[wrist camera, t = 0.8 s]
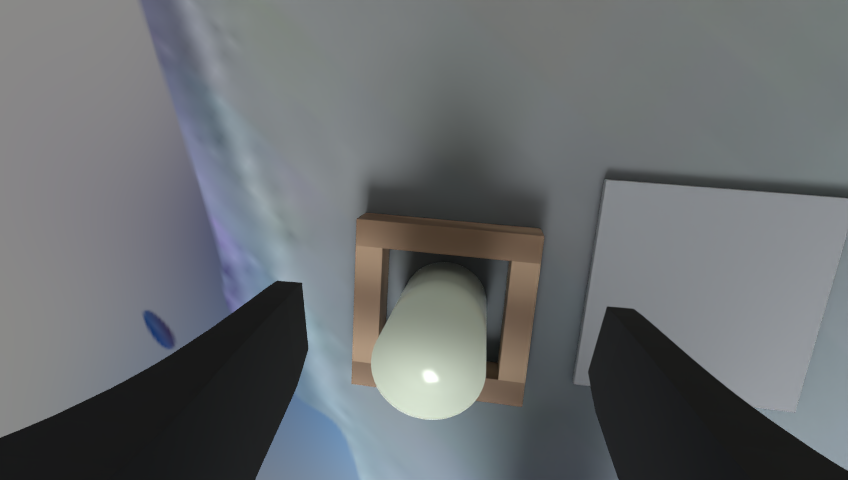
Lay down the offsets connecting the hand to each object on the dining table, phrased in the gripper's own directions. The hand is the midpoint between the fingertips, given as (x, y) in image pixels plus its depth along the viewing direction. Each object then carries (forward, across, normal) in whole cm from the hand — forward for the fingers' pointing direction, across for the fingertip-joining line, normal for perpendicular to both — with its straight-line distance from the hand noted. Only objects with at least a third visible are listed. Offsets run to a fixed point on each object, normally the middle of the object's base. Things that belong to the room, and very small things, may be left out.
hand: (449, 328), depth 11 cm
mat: (+13, -14, +7) cm, 20 cm away
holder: (+14, 0, +9) cm, 17 cm away
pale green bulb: (+14, 0, +9) cm, 17 cm away
